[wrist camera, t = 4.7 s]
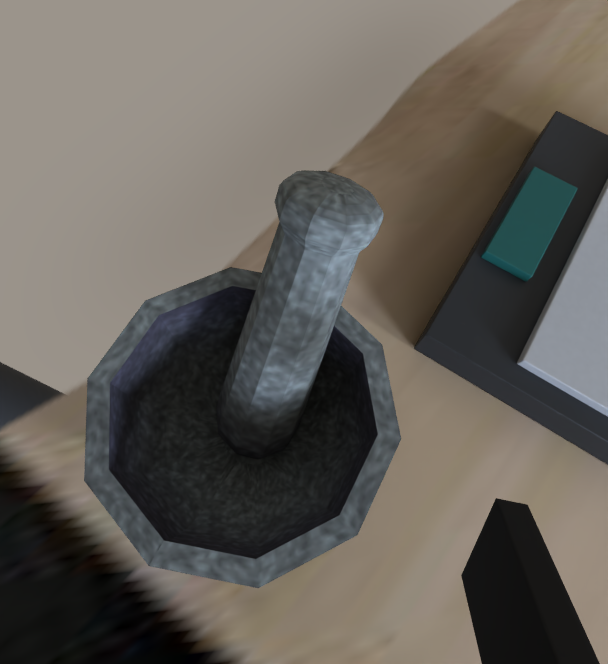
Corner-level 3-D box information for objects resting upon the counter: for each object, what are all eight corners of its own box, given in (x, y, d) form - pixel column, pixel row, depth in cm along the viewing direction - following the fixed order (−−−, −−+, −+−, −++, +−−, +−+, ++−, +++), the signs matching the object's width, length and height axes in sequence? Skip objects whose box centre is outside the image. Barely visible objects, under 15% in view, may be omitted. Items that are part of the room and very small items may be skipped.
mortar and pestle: (294, 605, 18) (309, 769, 7) (102, 486, 20) (-146, 466, 8) (407, 368, 22) (536, 227, 11) (239, 281, 23) (197, 73, 12)
